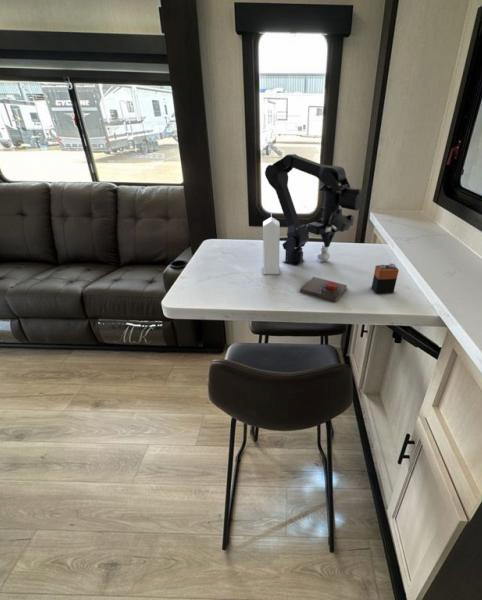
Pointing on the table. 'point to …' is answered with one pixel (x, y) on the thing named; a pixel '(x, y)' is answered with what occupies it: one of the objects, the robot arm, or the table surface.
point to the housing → (322, 289)
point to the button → (331, 285)
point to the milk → (271, 245)
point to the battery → (385, 278)
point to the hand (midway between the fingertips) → (326, 247)
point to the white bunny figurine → (323, 254)
